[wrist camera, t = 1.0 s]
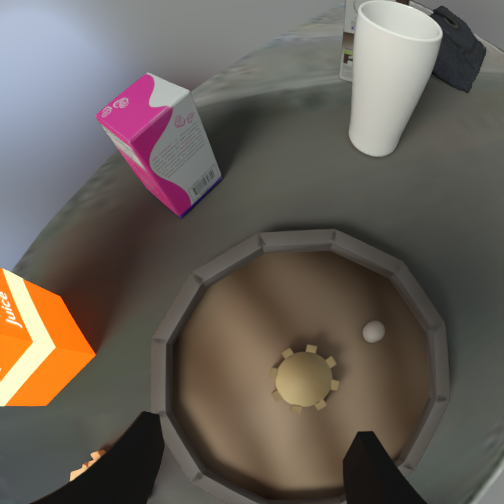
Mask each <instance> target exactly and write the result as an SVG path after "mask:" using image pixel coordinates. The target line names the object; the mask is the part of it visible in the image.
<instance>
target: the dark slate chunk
mask: <svg viewBox="0 0 504 504" xmlns="http://www.w3.org/2000/svg"><path fill="white" fill-rule="evenodd" d="M433 12H434V13H433V14H431V16H429V15H428V16H429V17H431V18H432V19H433V20H434V21H435V22H437V24H438V25H439V26H440V27H441V29H442V32H443V36H442V40H441V45H440V49H439V53H438V56H437V59H436V62H435V65H434V68H433V71H432V73H433V74H435V75H436V76H438V77H439V78H441V79H443V80H444V81H445V82H447V83H448V84H450V85H451V86H453V87H455V88H457V89H459V90H463V91H465V92H466V93H468V92H469V91H470V89H471V88H472V82H474V80H475V79H476V76H477V75H478V73H479V71H480V67H481V65H482V62H483V59H484V56H485V55H486V48H485V47H484V46H483V44H482V43H481V42H480V41H478V40H477V39H476V37H475V36H474V35H473V33H472V32H471V30H470V28H469V27H468V26H467V24H466V23H465V22H464V21H463V20H461V19H460V18H459V17H457V16H456V15H454V14H453V13H452V12H451V11H449V10H448V9H447V8H445V7H444V6H440V7H439V8H437V9H434V10H433Z"/></svg>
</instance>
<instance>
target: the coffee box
mask: <svg viewBox="0 0 504 504" xmlns="http://www.w3.org/2000/svg"><path fill="white" fill-rule="evenodd" d="M367 1H372V0H346V5H345V19H344V32H343V42H342V53H341V64H340V73H339V78H340V79H343V80H346V81H349V82H352V70H353V43H354V33H355V25H356V19H357V13H358V8H359V6H360V5H361V4H362V3H364V2H367ZM385 1H392V2H397V3H401V4H404V5H407V6H409V2H410V0H385Z"/></svg>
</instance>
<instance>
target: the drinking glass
mask: <svg viewBox="0 0 504 504" xmlns="http://www.w3.org/2000/svg"><path fill="white" fill-rule="evenodd" d="M442 36H443V32H442V29H441V27H440V26H439V25H438V24H437V22H435V21H434V20H433V19H432V18H431V17H429V16H428V15H426V14H425V13H423V12H421V11H419V10H417V9H415V8H413V7H410V6H407V5H404V4H401V3H397V2H392V1H385V0H372V1H367V2H364V3H362V4H361V5H360V6H359V8H358V13H357V19H356V25H355V33H354V43H353V70H352V101H351V118H350V124H349V138H350V140H351V142H352V144H353V145H354V146H355V147H356V148H357V149H358V150H359V151H361V152H363V153H365V154H367V155H370V156H375V157H382V156H386V155H389V154H390V153H392V152H393V151H394V150H395V149H396V147H397V145H398V142H399V140H400V137H401V135H402V133H403V131H404V129H405V127H406V125H407V123H408V121H409V119H410V117H411V115H412V113H413V111H414V109H415V107H416V105H417V103H418V101H419V99H420V97H421V95H422V93H423V91H424V89H425V87H426V85H427V83H428V81H429V78H430V76H431V74H432V71H433V68H434V65H435V62H436V59H437V56H438V53H439V49H440V45H441V40H442Z"/></svg>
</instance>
